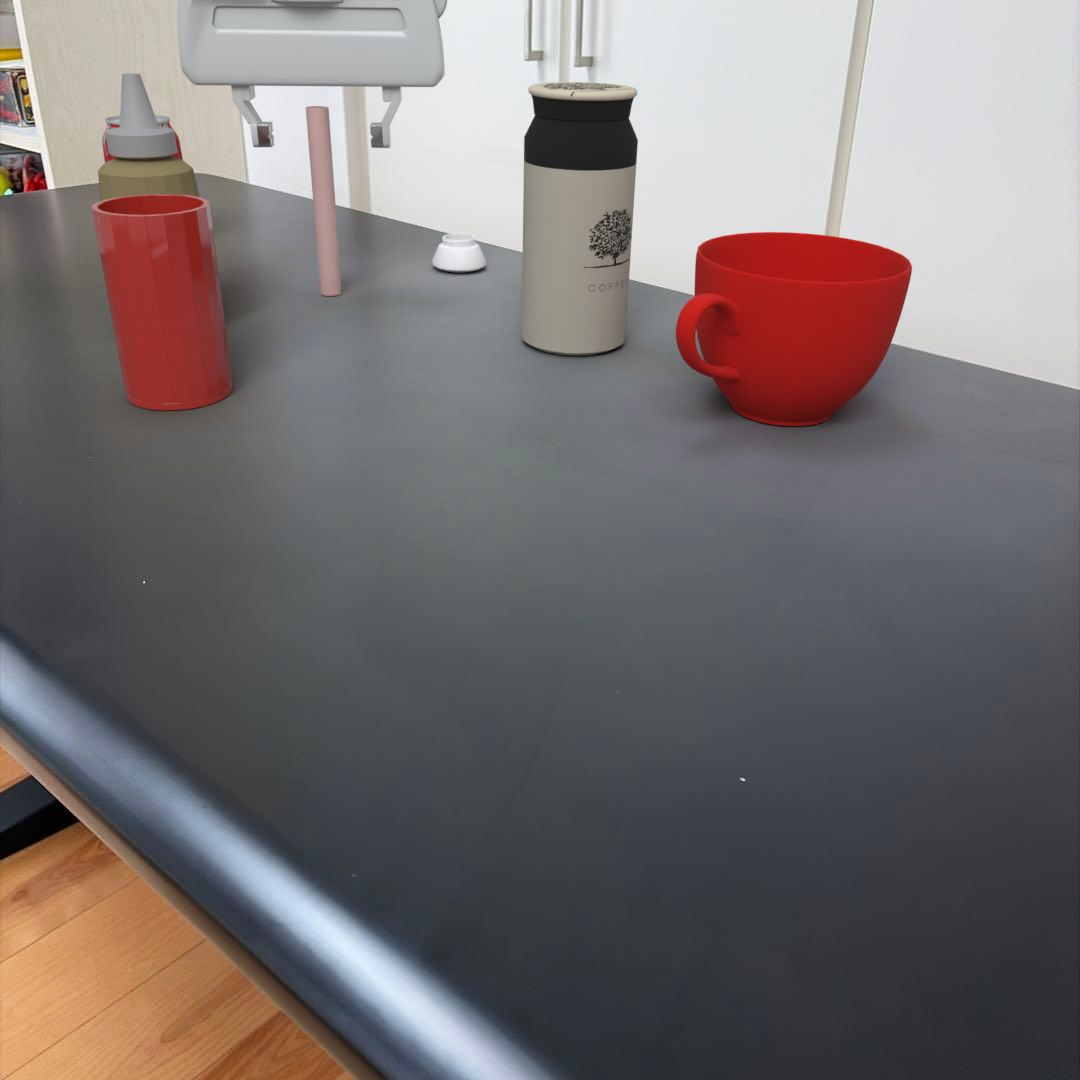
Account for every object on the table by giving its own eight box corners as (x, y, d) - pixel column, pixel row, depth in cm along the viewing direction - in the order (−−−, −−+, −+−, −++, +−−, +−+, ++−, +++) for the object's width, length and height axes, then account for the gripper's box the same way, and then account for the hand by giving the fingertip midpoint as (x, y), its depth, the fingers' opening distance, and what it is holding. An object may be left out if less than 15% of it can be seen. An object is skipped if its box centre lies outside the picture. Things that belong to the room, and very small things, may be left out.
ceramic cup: (598, 413, 66) (606, 257, 61) (766, 362, 76) (784, 223, 71) (755, 483, 57) (779, 307, 53) (922, 415, 67) (955, 261, 62)
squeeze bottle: (111, 346, 75) (61, 79, 67) (118, 315, 82) (74, 69, 74) (225, 339, 78) (191, 79, 69) (223, 309, 84) (192, 68, 76)
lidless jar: (426, 273, 96) (478, 276, 95) (425, 241, 94) (478, 244, 94) (440, 260, 100) (490, 263, 100) (440, 229, 99) (490, 232, 98)
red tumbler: (112, 410, 65) (75, 215, 59) (142, 374, 71) (111, 193, 65) (221, 410, 65) (194, 216, 59) (241, 374, 71) (219, 194, 65)
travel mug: (504, 332, 80) (505, 82, 72) (592, 321, 84) (603, 80, 75) (551, 363, 74) (559, 94, 66) (644, 349, 78) (663, 91, 69)
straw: (319, 296, 88) (304, 108, 81) (322, 290, 90) (307, 105, 83) (340, 296, 88) (327, 108, 81) (342, 290, 90) (329, 106, 83)
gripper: (446, -47, 80) (451, 141, 87) (179, -51, 79) (205, 140, 86) (444, -48, 75) (450, 153, 81) (157, -53, 73) (187, 152, 80)
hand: (322, 146), depth 83 cm, fingers open, 8 cm apart
